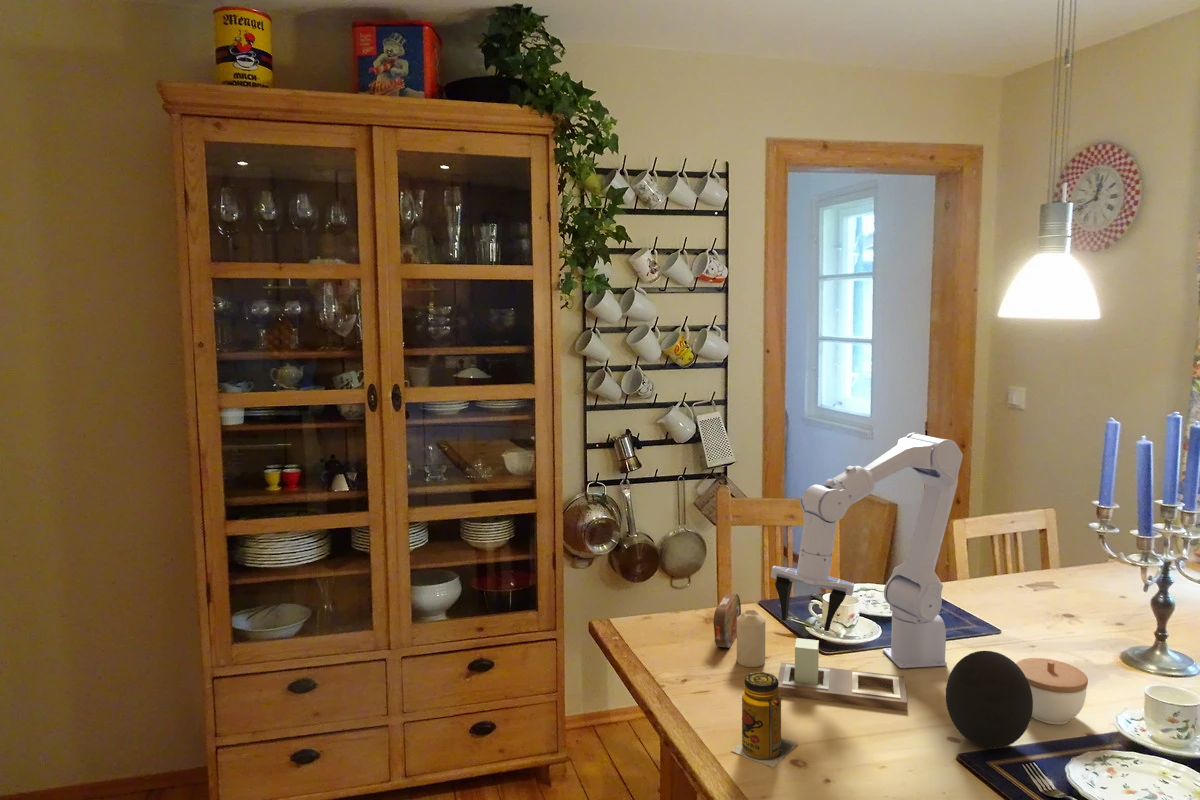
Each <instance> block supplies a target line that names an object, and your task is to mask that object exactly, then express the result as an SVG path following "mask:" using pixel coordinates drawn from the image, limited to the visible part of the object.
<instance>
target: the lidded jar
mask: <svg viewBox="0 0 1200 800" xmlns="http://www.w3.org/2000/svg"><path fill="white" fill-rule="evenodd" d="M1015 663H1016V664H1017V665H1018V666H1019V668H1020V669H1021V670H1022V671H1023V673H1024V674H1025V676H1026V678H1027V680H1028V682H1029V685H1030V688H1031V692H1032V697H1033V711H1032V717H1031V718H1033V719H1035V720H1036V721H1039V722H1042V723H1045V724H1048V725H1057V726H1058V725H1065V724H1067V723H1069V721H1070V720H1072V719H1074V718H1075V717H1076V716H1078V715H1079V713H1081V711H1082V709H1083V708H1084V706H1085V705H1084V704H1085V701H1086V696H1087V688H1088V685H1089V679H1088V676H1087V675H1086V673H1085V672H1083V671H1082V670H1081V669H1079V668H1078V667H1075V666H1074V665H1071V664H1069V663H1066V662H1063V661H1059V660H1055V659H1050V658H1041V657H1030V658H1029V657H1028V658H1023V659H1021V660H1020V659H1019V660H1018V661H1017V662H1015Z"/></svg>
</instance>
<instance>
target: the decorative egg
mask: <svg viewBox="0 0 1200 800" xmlns="http://www.w3.org/2000/svg"><path fill="white" fill-rule="evenodd" d="M1016 663H1017V662H1015V661H1014V660H1013V659H1011V658H1010V657H1008V656H1006V655H1004V654H1002V653H1000V652H996V651H992V650H979V651H974V652H971V653H969V654H967V655H965V656H964V657H962V658H961V659H959V661H958V662H957V663H956V664H955V665H954V667H953V668H952V669H951V671H950V674H949V676H948V678H947V681H946V686H945V704H946V710H947V712H948V715H949V718H950V720H951V722H952V723H953V725H954V727H955V729H956V730H957V731H958V732H959V733H960V734H961V735H962V737H963V738H965V739H966V740H967V741H969V742H970V743H973V745H976V746H978V747H982V748H986V749H1000V748H1004V747H1008V746H1010V745H1012V744H1014V743H1015V742H1017V741H1018V740H1019V739H1021V737H1022V736H1023V735H1024V734H1025V733H1026V731H1027V729H1028V727H1029V725H1030V722H1031V720H1032V718H1033V717H1032V711H1033V697H1032V692H1031V688H1030V685H1029V682H1028V680H1027V678H1026V676H1025V674H1024V673H1023V671H1022V670H1021V669H1020V668H1019V666H1018V665H1017V664H1016Z"/></svg>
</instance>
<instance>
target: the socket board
mask: <svg viewBox="0 0 1200 800" xmlns="http://www.w3.org/2000/svg"><path fill="white" fill-rule="evenodd" d="M778 670H779V672H778V676H777V679H778V682H779V685H778V688H779V694H780V696H787V697H792V698H802V699H803V698H804V699H808V700H809V699H811V700H819V701H826V702H834V703H843V704H850V705H851V704H852V705H856V706H857V705H858V706H867V707H874V708H880V709H881V708H882V709H889V710H897V711H905V712H907V711H908V699H907V698H908V697H907V692H906V683H905V676H904V675H899V674H898V675H897V674H896V675H895V674H889V673H888V674H887V673H881V672H880V673H879V672H878V673H877V672H870V671H862V670H861V671H859V670H854V669H853V670H852V669H842V668H835V667H826V666H819V665H818V680H822V685H821V684H820V685H819V684H818V685H812V684H804V683H795V681H794V682H793V681H791V677H795V663H792V662H785V661H784V662H783V661H781V662H780V666H779V669H778ZM859 685H868V686H878V687H883V688H892V693H885V692H877V691H876V692H875V691H869V690H861V689H859Z"/></svg>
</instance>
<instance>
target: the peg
mask: <svg viewBox="0 0 1200 800" xmlns="http://www.w3.org/2000/svg"><path fill="white" fill-rule="evenodd" d="M795 639H796V640H795V643H794V644H795V645H794V664H795V676H794V682H795V683H804V684H812V685H819V679H818V666H819V657H820V656H819V655H820V652H819V650H820V649H819V648H820V646H819V645H820V644H819V643H820V640H818V639H817V640H816V639H808V638H799V637H796V638H795Z"/></svg>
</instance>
